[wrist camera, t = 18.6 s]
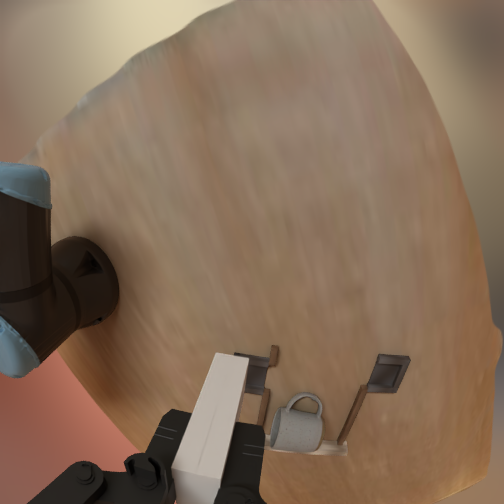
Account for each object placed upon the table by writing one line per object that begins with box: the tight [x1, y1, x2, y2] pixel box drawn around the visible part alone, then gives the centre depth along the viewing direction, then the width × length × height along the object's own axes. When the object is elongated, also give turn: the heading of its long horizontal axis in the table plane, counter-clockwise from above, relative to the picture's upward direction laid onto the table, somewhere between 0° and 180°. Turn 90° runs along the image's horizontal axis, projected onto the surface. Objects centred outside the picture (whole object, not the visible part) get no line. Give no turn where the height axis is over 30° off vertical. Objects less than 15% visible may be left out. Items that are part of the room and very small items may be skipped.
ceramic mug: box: [270, 392, 325, 452], centre depth 47 cm, size 11×8×8 cm
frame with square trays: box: [234, 345, 411, 456], centre depth 48 cm, size 28×23×3 cm
